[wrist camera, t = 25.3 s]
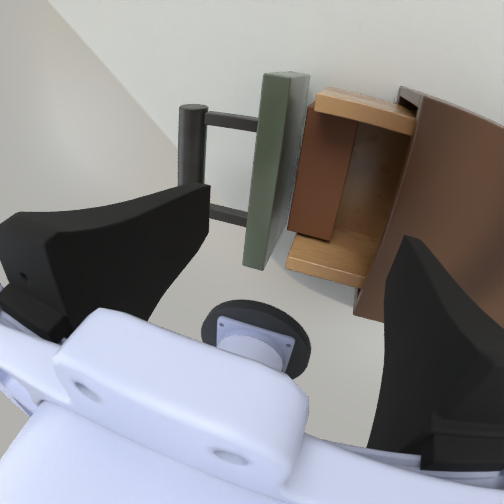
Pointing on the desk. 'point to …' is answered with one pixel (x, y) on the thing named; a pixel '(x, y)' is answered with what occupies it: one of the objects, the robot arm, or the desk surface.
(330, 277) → the drawer
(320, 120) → the brown long block
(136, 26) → the desk surface
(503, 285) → the cabinet
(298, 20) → the desk surface
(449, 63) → the desk surface
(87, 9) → the desk surface
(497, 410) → the robot arm
